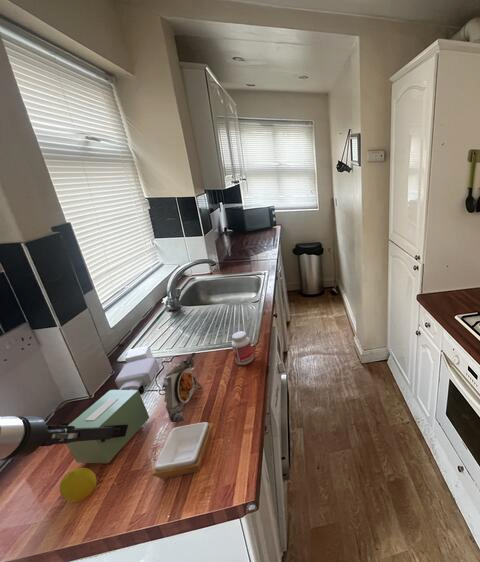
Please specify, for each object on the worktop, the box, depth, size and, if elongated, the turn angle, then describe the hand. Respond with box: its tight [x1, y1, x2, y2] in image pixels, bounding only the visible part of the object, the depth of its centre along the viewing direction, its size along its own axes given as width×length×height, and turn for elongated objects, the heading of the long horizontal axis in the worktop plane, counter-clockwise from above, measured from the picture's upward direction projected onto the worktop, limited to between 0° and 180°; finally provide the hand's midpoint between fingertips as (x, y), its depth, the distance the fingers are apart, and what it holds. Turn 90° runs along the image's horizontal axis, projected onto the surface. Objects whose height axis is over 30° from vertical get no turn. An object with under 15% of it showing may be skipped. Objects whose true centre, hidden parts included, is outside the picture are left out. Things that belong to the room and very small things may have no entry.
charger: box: [114, 357, 160, 390], centre depth 101 cm, size 5×9×15 cm
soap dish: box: [151, 421, 214, 479], centre depth 75 cm, size 12×10×5 cm
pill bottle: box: [231, 330, 254, 366], centre depth 110 cm, size 6×6×11 cm
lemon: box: [59, 467, 98, 503], centre depth 66 cm, size 6×6×8 cm
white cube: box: [124, 345, 154, 364], centre depth 110 cm, size 6×6×6 cm
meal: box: [161, 352, 202, 424], centre depth 91 cm, size 15×4×13 cm, turn 9°
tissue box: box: [62, 389, 151, 464], centre depth 79 cm, size 8×14×10 cm, turn 178°
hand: (109, 430), depth 79 cm, fingers closed on tissue box, 8 cm apart
